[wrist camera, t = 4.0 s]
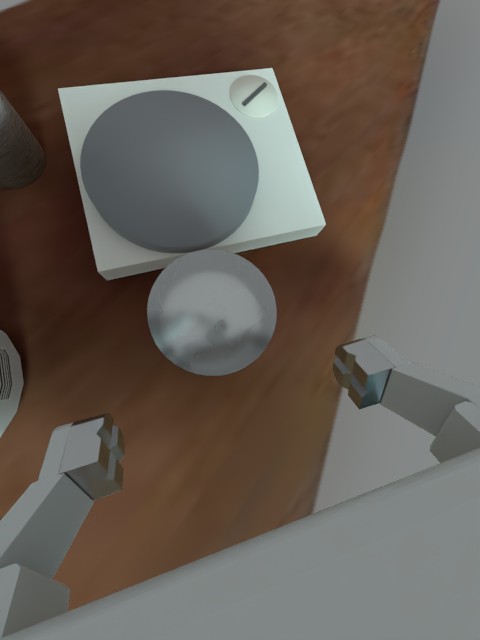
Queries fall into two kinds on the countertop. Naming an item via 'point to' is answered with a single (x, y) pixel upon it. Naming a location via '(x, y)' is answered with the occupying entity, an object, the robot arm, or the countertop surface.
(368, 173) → the countertop surface
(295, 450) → the countertop surface
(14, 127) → the cylinder
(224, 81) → the scale
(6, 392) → the supplement can
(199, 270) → the glossy grey rounded cylinder
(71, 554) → the countertop surface
